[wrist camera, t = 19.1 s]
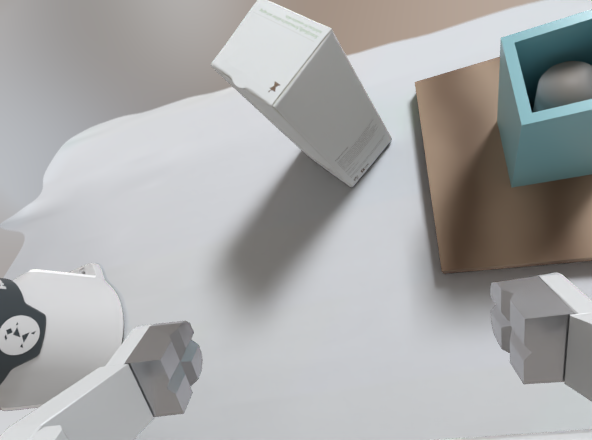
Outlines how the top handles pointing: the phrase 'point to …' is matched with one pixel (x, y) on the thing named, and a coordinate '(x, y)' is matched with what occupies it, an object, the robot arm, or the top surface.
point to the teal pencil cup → (552, 122)
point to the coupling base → (499, 175)
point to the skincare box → (304, 88)
